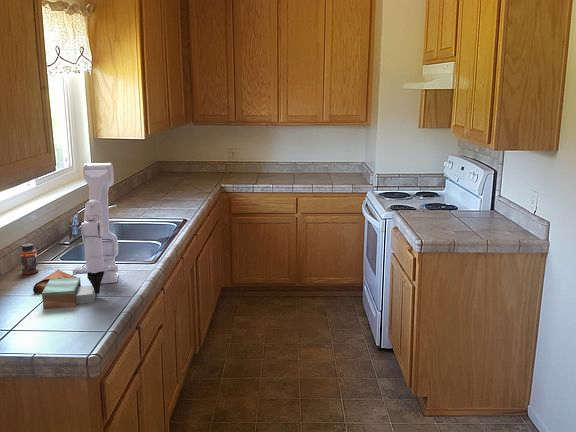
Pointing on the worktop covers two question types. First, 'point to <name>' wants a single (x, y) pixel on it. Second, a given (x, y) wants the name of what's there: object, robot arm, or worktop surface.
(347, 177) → the worktop surface
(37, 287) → the sunglasses case
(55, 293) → the overhang bridge
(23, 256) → the supplement bottle
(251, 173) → the worktop surface
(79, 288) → the flat grey cuboid
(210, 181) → the worktop surface
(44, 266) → the worktop surface
